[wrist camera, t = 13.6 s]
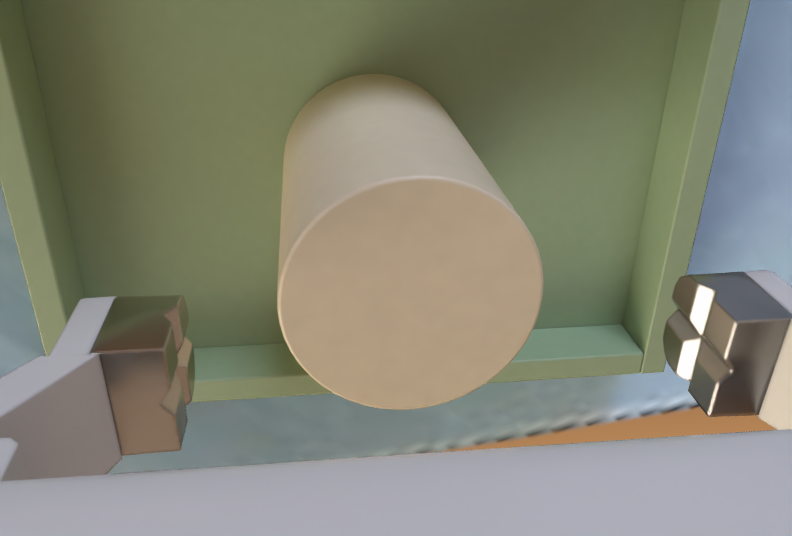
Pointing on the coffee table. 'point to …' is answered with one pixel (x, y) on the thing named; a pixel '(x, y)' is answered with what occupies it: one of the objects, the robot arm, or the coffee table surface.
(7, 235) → the coffee table surface
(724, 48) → the tray
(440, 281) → the candle
